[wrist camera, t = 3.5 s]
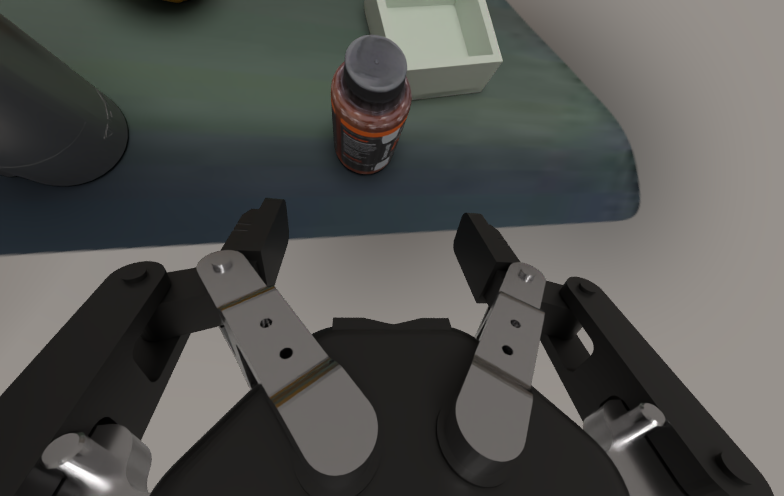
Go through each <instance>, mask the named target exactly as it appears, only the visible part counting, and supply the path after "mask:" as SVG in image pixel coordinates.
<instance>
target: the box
mask: <svg viewBox="0 0 784 496" xmlns="http://www.w3.org/2000/svg"><path fill="white" fill-rule="evenodd" d="M364 12H365V16H366V20H367V24H368V28H369V32H370V35H379V36H383V37H386V38H388V39H390V40H392V41H393V42H394V43H396V44H397V45H398V47H399V48H400V49H401V50H402V52H403V53H404V55H405V58H406V61H407V74H406V77H407V79H408V81H409V84H410V88H411V95H412V100H418V99H427V98H435V97H444V96H452V95H461V94H469V93H477V92H481V91H482V90H483V88H484V87H485V85H486V84H487V83H488V81H489V80H490V78H491V77H492V76H493V74H494V73H495V71H496V70H497V69H498V67H499V66H500V64H501V63H502V62H503V60H502V57H501V53H500V50H499V46H498V43H497V39H496V36H495V32H494V29H493V25H492V22H491V18H490V15H489V11H488V8H487V4H486V1H485V0H365V2H364Z"/></svg>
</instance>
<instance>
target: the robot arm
mask: <svg viewBox="0 0 784 496" xmlns="http://www.w3.org/2000/svg"><path fill="white" fill-rule="evenodd" d="M127 139H128V129H127V124H126V121H125V117H124V116H123V114H122V112H121V111H120V109H119V108H118V107H117V105H116V104H115V103H114V102H113V101H112V100H111V99H109V98H108V97H107V96H106V95H104V94H103V93H102V92H100V91H99V90H98V89H97V88H95V87H94V86H93V85H91V84H90V83H89V82H88V81H86V80H85V79H84V78H82V77H81V76H80V75H79V74H77V73H76V72H75V71H73V70H72V69H71V68H70V67H69V66H67V65H66V64H65V63H63V62H62V61H61V60H60V59H58V58H57V57H56V56H54V55H53V54H52V53H51V52H49V51H48V50H47V49H45V48H44V47H43V46H42V45H40V44H39V43H38V42H36V41H35V40H34V39H33V38H31V37H30V36H29V35H28V34H26V33H25V32H24V31H22V30H21V29H20V28H19V27H17V26H16V25H15V24H13V23H12V22H11V21H10V20H8V19H7V18H6V17H4V16H3V15H2V14H1V13H0V175H3V176H7V177H13V176H20V177H23V178H26V179H29V180H32V181H35V182H39V183H43V184H47V185H52V186H71V185H78V184H82V183H86V182H89V181H92V180H94V179H96V178H98V177H100V176H102V175H103V174H105V173H106V172H107V171H109V170H110V169H111V168H112V167H114V165H115V164H116V163H117V162H118V160H119V159H120V158H121V156H122V154H123V152H124V150H125V148H126V144H127ZM288 239H289V228H288V218H287V209H286V202H285V200H284V199H272V198H265V199H264V201H263V203H262V205H261V207H260V209H251V210H249V211H248V212H246V213H245V214H243V215H242V216H241V218H240V220H239V221H238V224H237V225H236V226H235V228H234V231H232V233H231V234H230V236H229V238H228V239H227V241H226V243H225V244H224V246H223V247H222V249H221V251H217V252H214V253H211V254H209V255H207V256H205V257H204V258H202V259H201V260H200V261H199V262H198V264H197V267H196V268H191V269H186V270H180V271H174V272H168V273H167V272H166V270H165V268H164V267H163V265H162V264H159V263H157V262H150V261H144V262H137V263H133V264H129V265H127V266H124V267H122V268H120V269H118V270H116V271H114V272H113V273H112V274H110V275H109V276H108V277H107V278H106V279H105V280H104V282H103V283H102V284H101V285H100V286H99V287H98V288H97V289H96V290H95V292H94V293H93V294H92V295H91V296H90V297H89V298H88V299H87V301H86V302H85V303H84V304H83V305H82V306H81V307H80V308H79V309H78V310H77V312H76V313H75V314H74V315H73V316H72V317H71V318H70V320H69V321H68V322H67V323H66V324H65V325H64V326H63V327H62V328H61V329H60V330H59V332H58V333H57V334H56V335H55V336H54V337H53V338H52V339H51V340H50V342H49V343H48V344H47V345H46V346H45V347H44V348H43V350H41V352H40V353H39V354H38V355H37V356H36V357H35V358H34V359H33V361H32V362H31V363H30V364H29V365H28V366H27V367H26V368H25V369H24V370H23V372H22V373H21V374H20V375H19V376H18V377H17V378H16V379H15V380H14V382H13V383H12V384H11V385H10V386H9V387H8V388H7V389H6V391H5V392H4V393H3V394H2V395H1V396H0V496H774V495H773V492H772V490H771V488H770V486H769V484H768V483H767V481H766V480H765V478H764V477H763V475H762V474H761V473H760V472H759V470H758V469H757V468H756V467H755V466H754V465H753V463H752V462H751V461H750V460H749V459H748V458H747V457H746V455H745V454H744V453H743V452H742V451H741V450H740V448H739V447H738V446H737V445H736V444H735V443H734V442H733V440H732V439H731V438H730V437H729V436H728V435H727V434H726V432H725V431H724V430H723V429H722V428H721V427H720V425H719V424H718V423H717V422H716V421H715V420H714V419H713V417H712V416H711V415H710V414H709V413H708V412H707V411H706V409H705V408H704V407H703V406H702V405H701V404H700V402H699V401H698V400H697V399H696V398H695V397H694V395H693V394H692V393H691V392H690V391H689V390H688V388H687V387H686V386H685V385H684V384H683V383H682V382H681V380H680V379H679V378H678V377H677V376H676V375H675V374H674V372H672V370H671V369H670V368H669V367H668V365H667V364H666V363H665V362H664V361H663V360H662V359H661V357H660V356H659V355H658V354H657V353H656V352H655V350H654V349H653V348H652V347H651V346H650V345H649V344H648V342H647V341H646V340H645V339H644V338H643V337H642V335H641V334H640V333H639V332H638V331H637V330H636V329H635V327H634V326H633V325H632V324H631V323H630V322H629V321H628V319H627V318H626V317H625V316H624V315H623V314H622V312H621V311H620V310H619V309H618V308H617V307H616V306H615V304H614V303H613V302H612V301H611V300H610V299H609V297H608V296H607V295H606V294H605V293H604V292H603V291H602V290H601V289H600V288H599V287H598V286H597V285H595V284H594V283H592V282H590V281H589V280H586V279H583V278H580V277H570V278H568V279H567V281H566V282H565V284H564V285H560V284H557V283H553V282H549V281H546V279H545V277H544V275H543V274H542V273H541V272H540V271H539V270H537V269H536V268H535V267H533V266H531V265H528V264H525V263H521V262H520V261H519V259H518V258H517V257H516V255H515V254H514V252H513V251H512V249H511V248H510V246H508V244H507V242H506V241H505V240H504V238H503V237H502V235H501V234H500V232H499V231H498V230H497V229H495V228H494V227H493V226H491V225H489V224H488V223H487V221H486V220H485V219H484V217H483V216H482V214H476V213H464V214H463V216H462V218H461V221H460V224H459V227H458V230H457V233H456V236H455V239H454V247H453V248H454V252H455V255H456V257H457V260H458V262H459V264H460V266H461V269H462V271H463V273H464V276H465V278H466V280H467V282H468V285H469V287H470V289H471V292H472V294H473V296H474V298H475V301H476V303H487V304H488V308H487V310H486V312H485V314H484V317H483V319H482V321H481V324H480V326H479V328H478V330H477V333H476V335H475V337H473V336H471V335H469V334H467V333H465V332H463V331H461V330H458V329H455V328H451V325H450V322H449V319H448V318H420V319H416V320H412V321H407V322H403V323H399V324H388V323H384V322H379V321H375V320H371V319H366V318H333V326H332V327H330V328H325V329H323V330H320V331H318V332H315V333H313V334H311V333H310V332H309V331H308V329H307V328H306V327H305V325H304V324H303V323H302V322H301V320H300V319H299V317H298V316H297V315H296V314H295V312H294V311H293V310H292V308H291V307H290V306H289V305H288V303H287V302H286V301H285V300H284V298H283V297H282V295H281V294H280V293H279V291H278V290H277V289H276V288H275V287H274V285H275V282H276V279H277V276H278V273H279V269H280V266H281V263H282V260H283V257H284V254H285V251H286V248H287V244H288ZM217 326H219V328H220V330H221V332H222V333H223V335H224V338H225V339H226V341H227V343H228V345H229V347H230V349H231V351H232V353H233V355H234V357H235V359H236V360H237V363H238V364H239V367H240V369H241V371H242V373H243V376H244V378H245V380H246V382H247V384H248V386H249V388H250V391H249V392H248V393H247V394H246V395H245V396H244V397H243V398H242V399H241V400H240V401H239V402H238V403H237V404H236V405H235V406H234V407H233V408H231V409H230V410H229V412H227V413H226V414H225V415H224V416H223V417H222V418H221V419H220V420H219V421H218V422H217V423H216V424H215V425H214V426H213V427H212V428H211V429H210V430H209V431H208V432H207V433H206V434H205V435H204V436H203V437H202V438H201V439H200V440H199V441H197V442H196V443H195V444H194V445H193V446H192V447H191V448H190V449H189V450H188V451H187V452H186V453H185V454H184V455H183V456H182V457H181V458H180V459H179V460H178V461H177V462H176V463H175V464H174V465H173V466H172V467H171V468H170V469H169V470H168V471H167V472H166V473H165V475H164V476H163V477H162V478H161V480H160V481H159V482H158V483H157V485H156V486H155V488H154V489H153V491H152V492H151V493H148V490H147V478H148V474H149V470H150V467H151V460H152V458H151V452H150V450H149V448H148V447H147V446H146V445H145V444H144V443H143V442H141V439H142V437H143V434H144V432H145V430H146V428H147V426H148V424H149V422H150V419H151V417H152V415H153V413H154V411H155V409H156V406H157V404H158V402H159V400H160V398H161V396H162V394H163V392H164V389H165V387H166V385H167V383H168V380H169V378H170V377H171V374H172V372H173V370H174V368H175V366H176V363H177V362H178V359H179V357H180V355H181V353H182V351H183V349H184V346H185V344H186V342H187V340H188V338H189V336H190V334H191V333H193V332H197V331H201V330H205V329H209V328H213V327H217ZM582 327H583V328H584V329H585V331H586V332H587V334H588V335H589V337H590V338H591V340H592V342H593V345H594V350H593V353H592V355H591V356H590V354H589V353H588V351H587V350H586V348H585V347H584V345H583V344H582V342H581V341H580V339H579V338H578V336H577V332H578V331H579V330H580V329H581V328H582ZM539 341H541V343H542V344H543V346H544V348H545V350H546V352H547V354H548V356H549V358H550V360H551V361H552V364H553V365H554V367H555V369H556V371H557V373H558V375H559V377H560V379H561V381H562V382H563V384H564V386H565V388H566V390H567V392H568V394H569V396H570V398H571V400H572V402H573V403H574V405H575V407H576V409H577V411H578V413H579V415H580V417H581V419H582V421H583V429H582V428H581V427H580V426H578V425H577V424H576V423H575V422H574V421H572V420H571V419H570V418H569V417H568V416H567V415H565V414H564V413H563V412H562V411H561V410H560V409H558V408H557V407H556V406H555V405H554V404H553V403H551V402H550V401H549V400H548V399H547V398H546V397H544V396H543V395H542V394H541V393H540V392H539V391H537V390H536V389H535V388H534V387H533V386H532V385H531V383H532V377H533V373H534V368H535V362H536V357H537V352H538V347H539Z"/></svg>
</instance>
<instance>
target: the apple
mask: <svg viewBox="0 0 784 496" xmlns="http://www.w3.org/2000/svg"><path fill="white" fill-rule="evenodd" d="M164 1H169V2H175V3H180V2H183V1H186V0H164Z"/></svg>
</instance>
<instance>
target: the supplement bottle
mask: <svg viewBox="0 0 784 496" xmlns="http://www.w3.org/2000/svg"><path fill="white" fill-rule="evenodd" d="M406 74H407V61H406V58H405V55H404V53H403V52H402V50H401V49H400V48H399V47H398V45H397V44H396V43H394V42H393V41H392V40H390V39H388V38H386V37H383V36H379V35H365V36H362V37H359V38H357V39H356V40H354V41H353V42H352V43H351V44H350V46H349V47H348V48H347V51H346V54H345V61H344V62H343V63H342V64H341V65H340V66H339V67H338V69H337V70H336V72H335V74H334V77H333V80H332V84H331V104H332V119H333V132H334V145H335V150H336V153H337V156H338V158H339V159H340V161H341V162H342V163H343V165H344V166H346V167H347V168H348V169H350V170H352V171H354V172H356V173H360V174H372V173H375V172H378V171H380V170H382V169H383V168H384V167H385V166H386V165H387V164H388V163H389V161H390V159H391V158H392V156H393V153H394V150H395V148H396V145H397V142H398V140H399V137H400V134H401V132H402V129H403V127H404V124H405V121H406V118H407V115H408V113H409V110H410V106H411V100H412V95H411V88H410V84H409V81H408V79H407V77H406Z"/></svg>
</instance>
